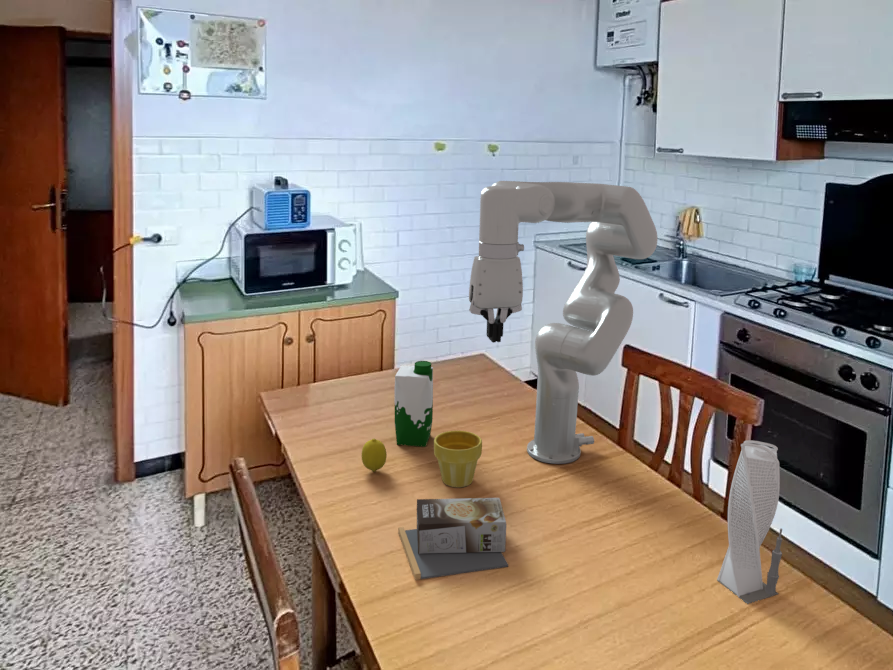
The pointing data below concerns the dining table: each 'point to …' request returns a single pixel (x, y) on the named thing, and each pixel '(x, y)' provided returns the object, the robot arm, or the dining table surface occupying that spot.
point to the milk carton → (414, 404)
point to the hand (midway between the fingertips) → (494, 340)
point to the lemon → (374, 455)
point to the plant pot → (457, 456)
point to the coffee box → (460, 525)
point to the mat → (446, 559)
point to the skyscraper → (752, 523)
